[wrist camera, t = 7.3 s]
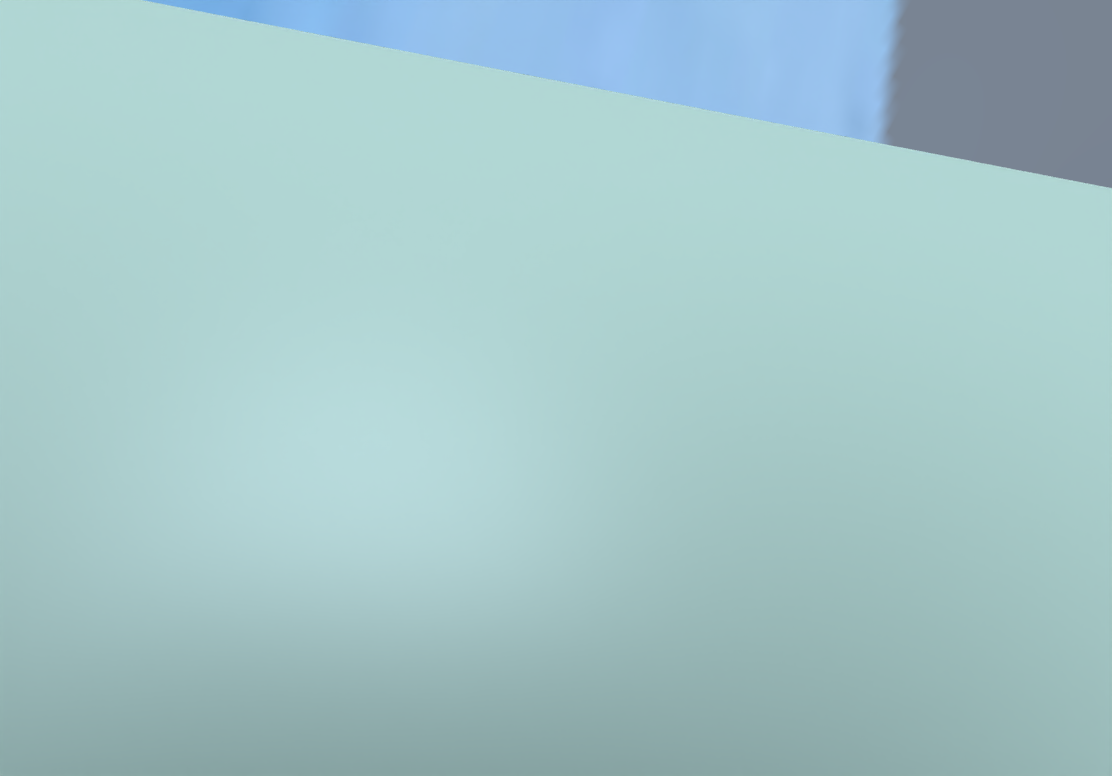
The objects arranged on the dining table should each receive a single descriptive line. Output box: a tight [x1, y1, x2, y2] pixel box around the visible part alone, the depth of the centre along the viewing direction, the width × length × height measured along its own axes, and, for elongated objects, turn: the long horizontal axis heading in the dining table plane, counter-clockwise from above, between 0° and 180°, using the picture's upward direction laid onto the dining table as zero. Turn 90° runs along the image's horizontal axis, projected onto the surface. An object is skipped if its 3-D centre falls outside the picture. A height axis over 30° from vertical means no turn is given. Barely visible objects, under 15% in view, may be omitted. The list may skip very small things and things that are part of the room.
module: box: [0, 0, 1112, 776], centre depth 8 cm, size 6×5×13 cm
